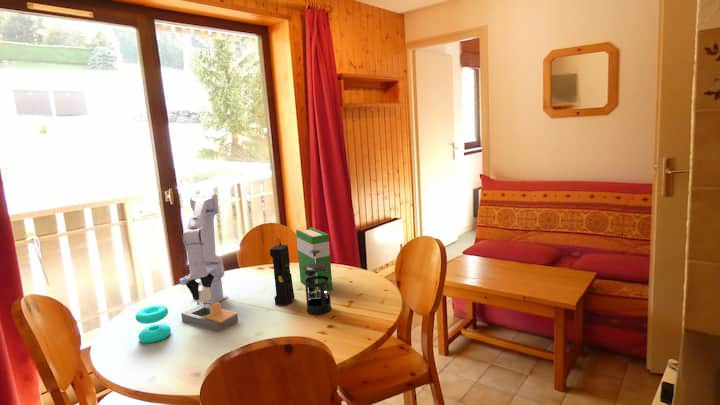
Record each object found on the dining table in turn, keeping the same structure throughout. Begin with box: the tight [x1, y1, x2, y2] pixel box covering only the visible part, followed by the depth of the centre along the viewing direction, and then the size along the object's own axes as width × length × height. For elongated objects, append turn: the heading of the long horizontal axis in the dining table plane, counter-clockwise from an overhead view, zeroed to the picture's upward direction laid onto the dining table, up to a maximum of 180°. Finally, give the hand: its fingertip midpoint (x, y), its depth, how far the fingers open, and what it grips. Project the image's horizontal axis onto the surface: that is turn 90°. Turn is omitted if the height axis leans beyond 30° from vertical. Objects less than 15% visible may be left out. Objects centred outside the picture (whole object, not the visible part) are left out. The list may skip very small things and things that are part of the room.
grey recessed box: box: [180, 303, 239, 332], centre depth 156 cm, size 20×9×3 cm, turn 58°
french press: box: [304, 250, 333, 316], centre depth 159 cm, size 12×9×23 cm
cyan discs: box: [135, 304, 172, 344], centre depth 146 cm, size 10×10×10 cm
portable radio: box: [269, 238, 296, 306], centre depth 168 cm, size 8×6×25 cm
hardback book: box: [295, 227, 333, 291], centre depth 184 cm, size 18×7×24 cm, turn 30°
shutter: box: [206, 301, 239, 323], centre depth 152 cm, size 8×8×4 cm
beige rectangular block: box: [192, 286, 211, 306], centre depth 157 cm, size 5×4×6 cm
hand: (201, 297), depth 157 cm, fingers closed on beige rectangular block, 4 cm apart
